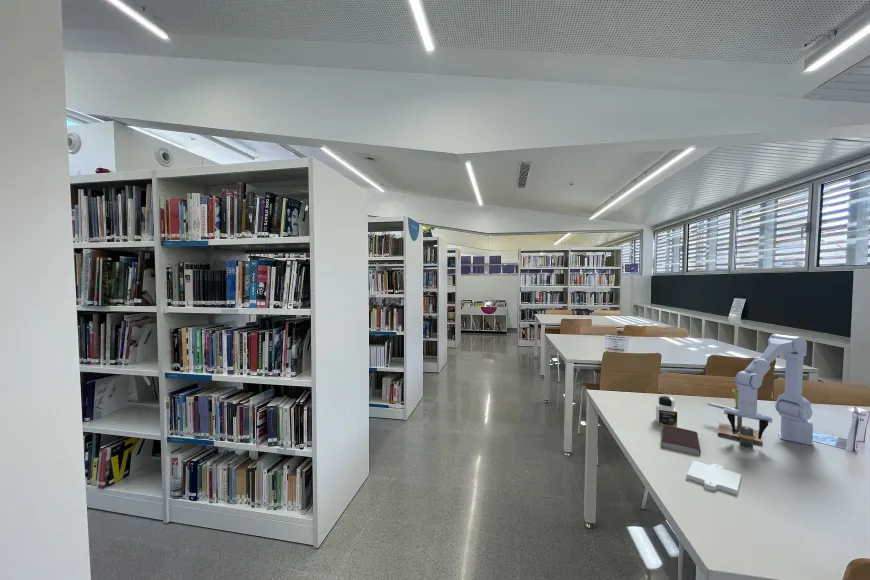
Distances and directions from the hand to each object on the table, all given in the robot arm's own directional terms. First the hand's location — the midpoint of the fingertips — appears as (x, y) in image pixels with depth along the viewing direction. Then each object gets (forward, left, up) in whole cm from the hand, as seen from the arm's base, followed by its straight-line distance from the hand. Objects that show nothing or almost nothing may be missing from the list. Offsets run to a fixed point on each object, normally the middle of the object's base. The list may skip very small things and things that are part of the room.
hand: (746, 435), depth 144 cm
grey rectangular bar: (+7, -19, +4) cm, 21 cm away
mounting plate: (+9, +40, -4) cm, 41 cm away
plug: (0, 0, -4) cm, 4 cm away
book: (+21, +14, -5) cm, 26 cm away
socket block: (+2, -11, -4) cm, 12 cm away
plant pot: (0, -57, -4) cm, 57 cm away
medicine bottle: (+28, -6, -4) cm, 29 cm away
